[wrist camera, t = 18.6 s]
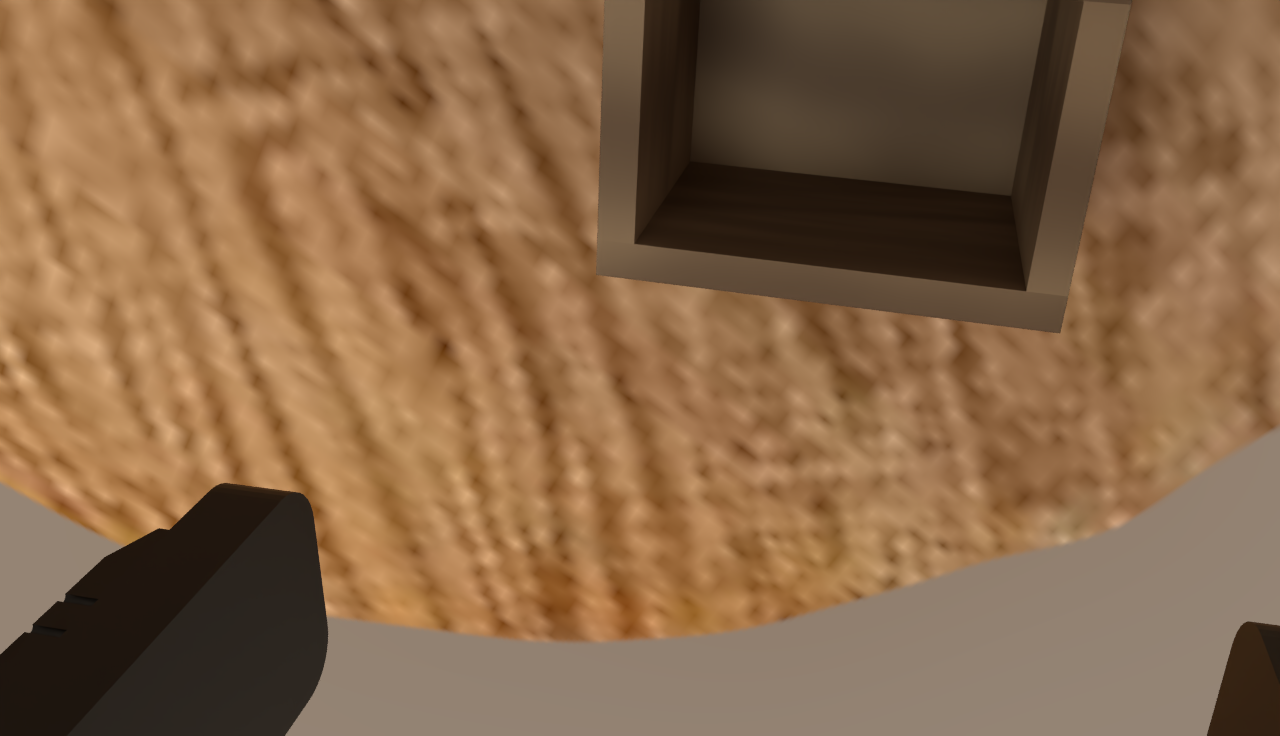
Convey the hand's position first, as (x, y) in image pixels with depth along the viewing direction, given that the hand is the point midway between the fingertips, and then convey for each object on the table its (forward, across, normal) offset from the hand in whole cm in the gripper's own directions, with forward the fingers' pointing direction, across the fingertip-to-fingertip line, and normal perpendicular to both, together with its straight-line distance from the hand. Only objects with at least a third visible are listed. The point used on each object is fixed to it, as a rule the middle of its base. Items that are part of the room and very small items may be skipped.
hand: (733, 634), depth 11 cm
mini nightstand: (+30, 0, +1) cm, 30 cm away
